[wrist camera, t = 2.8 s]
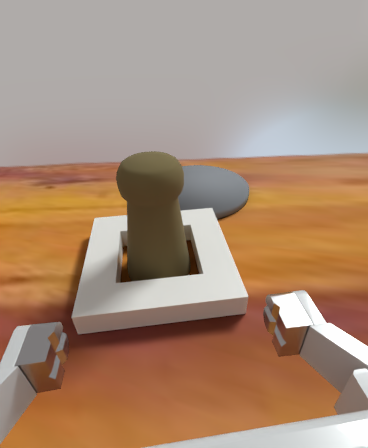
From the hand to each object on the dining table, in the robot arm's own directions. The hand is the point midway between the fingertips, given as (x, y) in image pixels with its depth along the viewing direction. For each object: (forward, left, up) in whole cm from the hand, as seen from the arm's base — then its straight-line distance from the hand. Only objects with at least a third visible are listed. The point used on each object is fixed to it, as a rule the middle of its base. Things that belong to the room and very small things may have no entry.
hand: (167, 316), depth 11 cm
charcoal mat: (+6, +27, -9) cm, 29 cm away
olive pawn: (0, +13, -10) cm, 16 cm away
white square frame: (0, +13, -9) cm, 16 cm away
